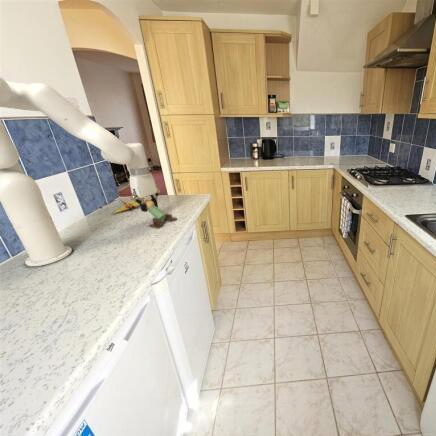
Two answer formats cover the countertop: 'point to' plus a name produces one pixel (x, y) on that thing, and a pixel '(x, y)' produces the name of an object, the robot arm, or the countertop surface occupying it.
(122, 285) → the countertop surface
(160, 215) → the peg doll
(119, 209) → the origami crane
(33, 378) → the countertop surface
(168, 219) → the stand
